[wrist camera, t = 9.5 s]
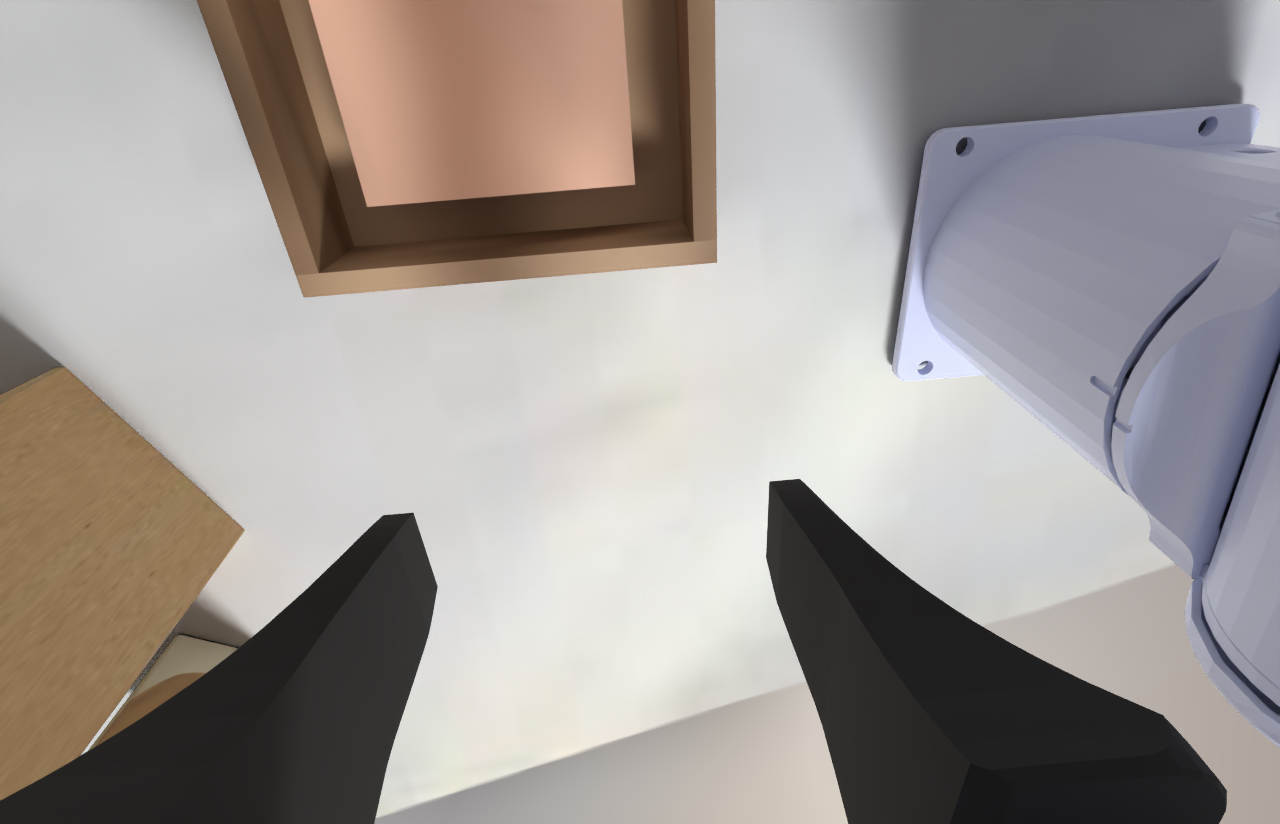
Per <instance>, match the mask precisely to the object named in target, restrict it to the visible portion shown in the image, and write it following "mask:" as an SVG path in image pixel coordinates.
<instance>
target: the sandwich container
mask: <svg viewBox="0 0 1280 824" xmlns="http://www.w3.org/2000/svg"><path fill="white" fill-rule="evenodd" d="M243 532H244V529H243V528H242V527H241V526H240V525H239V524H238V523H237V522H235V521H234V520H233V519H232V518H231V517H230V516H229V515H228V514H227V513H226V512H224V511H223V510H222V509H221V508H220V507H219V506H218V505H217V504H216V503H215V502H214V501H212V500H211V499H210V498H209V497H208V496H207V495H206V494H205V493H204V492H203V491H201V490H200V489H199V488H198V487H197V486H196V485H195V484H194V483H193V482H192V481H190V480H189V479H188V478H187V477H186V476H185V475H184V474H183V473H182V472H181V471H179V470H178V469H177V468H176V467H175V466H174V465H173V464H172V463H171V462H170V461H168V460H167V459H166V458H165V457H164V456H163V455H162V454H161V453H160V452H159V451H157V450H156V449H155V448H154V447H153V446H152V445H151V444H150V443H149V442H148V441H146V440H145V439H144V438H143V437H142V436H141V435H140V434H139V433H138V432H137V431H135V430H134V429H133V428H132V427H131V426H130V425H129V424H128V423H127V422H125V421H124V420H123V419H122V418H121V417H120V416H119V415H118V414H117V413H115V412H114V411H113V410H112V409H111V408H110V407H109V406H108V405H107V404H106V403H104V402H103V401H102V400H101V399H100V398H99V397H98V396H97V395H96V394H94V393H93V392H92V391H91V390H90V389H89V388H88V387H87V386H86V385H84V384H83V383H82V382H81V381H80V380H79V379H78V378H77V377H76V376H74V375H73V374H72V373H71V372H70V371H69V370H68V369H67V368H66V367H55V368H53V369H51V370H49V371H47V372H45V373H43V374H41V375H39V376H37V377H35V378H33V379H31V380H29V381H27V382H25V383H23V384H21V385H19V386H17V387H15V388H13V389H11V390H9V391H7V392H5V393H3V394H1V395H0V800H2V799H4V798H6V797H8V796H10V795H11V794H13V793H15V792H17V791H19V790H21V789H23V788H24V787H26V786H28V785H30V784H32V783H34V782H36V781H37V780H39V779H41V778H43V777H45V776H46V775H48V774H50V773H52V772H53V771H55V770H57V769H59V768H60V767H62V766H64V765H66V764H67V763H69V762H71V761H72V760H74V759H76V758H78V757H79V756H80V755H81V754H82V752H83V751H84V750H85V748H86V747H87V746H88V744H89V743H90V742H91V740H92V739H93V737H94V736H95V735H96V733H97V732H98V731H99V729H100V728H101V727H102V725H103V724H104V723H105V721H106V720H107V718H108V717H109V716H110V714H111V713H112V712H113V710H114V709H115V708H116V706H117V705H118V704H119V702H120V701H121V699H122V698H123V697H124V695H125V694H126V693H127V691H128V690H129V689H130V687H131V686H132V685H133V683H134V682H135V680H136V679H137V678H138V676H139V675H140V674H141V672H142V671H143V670H144V668H145V667H146V666H147V664H148V663H149V661H150V660H151V659H152V657H153V656H154V655H155V653H156V652H157V651H158V649H159V648H160V647H161V645H162V644H163V642H164V641H165V640H166V638H167V637H168V636H169V634H170V633H171V632H172V630H173V629H174V628H175V626H176V625H177V623H178V622H179V621H180V619H181V618H182V617H183V615H184V614H185V613H186V611H187V610H188V608H189V607H190V606H191V604H192V603H193V602H194V600H195V599H196V597H197V596H198V595H199V593H200V592H201V590H202V589H203V588H204V586H205V585H206V584H207V582H208V581H209V579H210V578H211V577H212V575H213V574H214V572H215V571H216V570H217V568H218V567H219V566H220V564H221V563H222V561H223V560H224V559H225V557H226V556H227V555H228V553H229V552H230V550H231V549H232V548H233V546H234V545H235V543H236V542H237V541H238V539H239V538H240V537H241V535H242V534H243Z"/></svg>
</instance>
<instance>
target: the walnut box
mask: <svg viewBox="0 0 1280 824" xmlns="http://www.w3.org/2000/svg"><path fill="white" fill-rule="evenodd" d="M197 2H198V5H199V8H200V11H201V13H202V16H203V19H204V22H205V24H206V27H207V30H208V33H209V36H210V38H211V41H212V44H213V47H214V49H215V52H216V55H217V58H218V61H219V63H220V66H221V69H222V72H223V74H224V77H225V80H226V83H227V86H228V88H229V91H230V94H231V97H232V99H233V102H234V105H235V108H236V111H237V113H238V116H239V119H240V122H241V124H242V127H243V130H244V133H245V136H246V138H247V141H248V144H249V147H250V149H251V152H252V155H253V158H254V160H255V163H256V166H257V169H258V172H259V174H260V177H261V180H262V183H263V185H264V188H265V191H266V194H267V197H268V199H269V202H270V205H271V208H272V210H273V213H274V216H275V219H276V222H277V224H278V227H279V230H280V233H281V235H282V238H283V241H284V244H285V247H286V249H287V252H288V255H289V258H290V260H291V263H292V266H293V269H294V272H295V274H296V277H297V280H298V283H299V285H300V288H301V291H302V294H303V297H315V296H326V295H338V294H350V293H362V292H374V291H386V290H397V289H409V288H421V287H433V286H445V285H457V284H468V283H480V282H492V281H504V280H516V279H528V278H539V277H551V276H563V275H575V274H587V273H598V272H610V271H622V270H634V269H646V268H658V267H669V266H681V265H693V264H705V263H717V214H716V91H715V0H197Z"/></svg>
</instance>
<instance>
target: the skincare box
mask: <svg viewBox="0 0 1280 824" xmlns="http://www.w3.org/2000/svg"><path fill="white" fill-rule="evenodd" d="M237 649H238V648H234V647H230V646H226V645H222V644H218V643H213V642H209V641H205V640H200V639H196V638H192V637H188V636H184V635H177V636H175V637H174V639H173V640H172V641H171V642H170V644H169V645H168V646H167V648H166V649H165V650H164V652H163V653H162V654H161V656H160V657H159V658H158V659H157V661H156V662H155V663H154V665H153V666H152V667H151V669H150V670H149V671H148V673H147V674H146V675H145V677H144V678H143V680H142V681H141V682H140V684H139V685H138V686H137V687H136V689H135V690H134V691H133V693H132V694H131V695H130V697H129V698H128V699H127V700H126V702H125V703H124V704H123V706H122V707H121V708H120V710H119V711H118V712H117V714H116V715H115V716H114V718H113V719H112V720H111V722H110V723H109V724H108V725H107V727H106V728H105V729H104V731H103V732H102V733H101V735H100V736H99V737H98V739H97V740H96V741H95V743H94V744H93V745H92V746H91V748H90V749H89V750H91V749H93V748H94V747H96V746H98V745H99V744H101V743H103V742H104V741H106V740H107V739H109V738H111V737H112V736H114V735H115V734H117V733H119V732H120V731H122V730H123V729H125V728H127V727H128V726H130V725H131V724H133V723H135V722H136V721H138V720H139V719H141V718H142V717H144V716H145V715H147V714H148V713H150V712H151V711H152V710H154V709H155V708H157V707H158V706H160V705H161V704H163V703H164V702H166V701H167V700H168V699H170V698H171V697H173V696H174V695H176V694H177V693H179V692H180V691H182V690H183V689H184V688H186V687H187V686H189V685H190V684H192V683H193V682H195V681H196V680H198V679H199V678H200V677H202V676H203V675H204V674H206V673H207V672H208V671H210V670H211V669H212V668H214V667H215V666H216V665H218V664H219V663H220V662H221V661H223V660H224V659H225V658H227V657H228V656H229V655H231V654H232V653H233V652H235V651H236V650H237ZM89 750H88V751H89Z"/></svg>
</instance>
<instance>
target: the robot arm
mask: <svg viewBox="0 0 1280 824" xmlns="http://www.w3.org/2000/svg"><path fill="white" fill-rule="evenodd" d="M1259 117H1260V113H1259V109H1258V108H1257V107H1256V106H1255V105H1250V104H1228V105H1216V106H1204V107H1192V108H1180V109H1168V110H1156V111H1144V112H1132V113H1120V114H1108V115H1096V116H1084V117H1072V118H1060V119H1047V120H1035V121H1023V122H1011V123H999V124H987V125H975V126H963V127H951V128H943V129H940V130H937V131H936V132H935V133H933V134H932V135H931V136H930V138H929V139H928V140H927V143H926V146H925V149H924V156H923V163H922V169H921V176H920V183H919V190H918V196H917V203H916V210H915V216H914V223H913V230H912V236H911V243H910V250H909V256H908V263H907V270H906V276H905V283H904V290H903V297H902V303H901V310H900V317H899V323H898V330H897V337H896V343H895V350H894V357H893V363H892V371H893V372H894V374H895V375H896V376H897V377H898V379H900V380H902V381H919V380H930V379H942V378H953V377H965V376H977V375H985V376H986V377H987V378H989V379H990V380H991V381H992V382H993V383H995V384H996V385H997V386H998V387H999V388H1001V389H1002V390H1003V391H1004V392H1005V393H1007V394H1008V395H1009V396H1010V397H1011V398H1013V399H1014V400H1015V401H1016V402H1017V403H1019V404H1020V405H1021V406H1022V407H1023V408H1025V409H1026V410H1027V411H1028V412H1029V413H1031V414H1032V415H1033V416H1034V417H1035V418H1037V419H1038V420H1039V421H1040V422H1041V423H1043V424H1044V425H1045V426H1046V427H1047V428H1049V429H1050V430H1051V431H1052V432H1053V433H1055V434H1056V435H1057V436H1058V437H1059V438H1061V439H1062V440H1063V441H1064V442H1065V443H1067V444H1068V445H1069V446H1070V447H1071V448H1073V449H1074V450H1075V451H1076V452H1077V453H1079V454H1080V455H1081V456H1082V457H1083V458H1084V459H1086V460H1087V461H1088V462H1089V463H1090V464H1092V465H1093V466H1094V467H1095V468H1096V469H1098V470H1099V471H1100V472H1101V473H1102V474H1104V475H1105V476H1106V477H1107V478H1108V479H1110V480H1111V481H1112V482H1113V483H1114V484H1116V485H1117V486H1118V487H1119V488H1120V489H1122V490H1123V491H1124V492H1125V493H1127V494H1128V495H1129V496H1130V497H1131V498H1133V499H1134V500H1135V501H1136V502H1137V503H1138V504H1139V505H1140V506H1141V507H1142V508H1143V509H1144V511H1145V512H1146V513H1147V515H1148V517H1149V520H1150V525H1151V530H1150V537H1149V540H1150V542H1152V543H1153V544H1154V545H1155V546H1156V547H1157V548H1158V549H1159V550H1161V551H1162V552H1163V553H1164V554H1165V555H1166V556H1167V557H1168V558H1170V559H1171V560H1172V561H1173V562H1174V563H1175V564H1176V565H1177V566H1179V567H1180V568H1181V569H1182V570H1183V571H1184V572H1185V573H1187V574H1188V575H1189V576H1190V577H1191V578H1192V579H1195V580H1194V581H1193V582H1192V585H1191V588H1190V591H1189V594H1188V598H1187V603H1186V608H1185V620H1186V629H1187V635H1188V638H1189V641H1190V643H1191V646H1192V649H1193V652H1194V654H1195V656H1196V658H1197V660H1198V661H1199V663H1200V665H1201V666H1202V668H1203V670H1204V672H1205V673H1206V675H1207V677H1208V678H1209V679H1210V681H1211V682H1212V683H1213V684H1214V685H1215V687H1216V688H1217V689H1218V690H1219V691H1220V693H1221V694H1222V695H1223V697H1224V698H1225V699H1226V700H1227V701H1228V703H1229V704H1230V705H1231V706H1232V707H1234V708H1235V709H1236V710H1237V711H1238V712H1239V713H1240V714H1241V715H1242V716H1243V717H1244V718H1245V719H1246V720H1247V721H1248V722H1249V723H1250V724H1251V725H1252V726H1253V727H1254V728H1255V729H1257V730H1258V731H1259V732H1260V733H1262V734H1263V735H1264V736H1265V737H1267V738H1268V739H1269V740H1270V741H1272V742H1273V743H1274V744H1275V745H1277V746H1278V747H1279V748H1280V148H1276V147H1269V146H1261V145H1254V144H1250V142H1251V140H1252V137H1253V135H1254V132H1255V129H1256V127H1257V124H1258V122H1259ZM1205 119H1206V125H1205V126H1204V128H1203V130H1202V131H1201V132H1199V133H1198V130H1199V126H1200V124H1201V123H1202V122H1203V121H1204V120H1205ZM962 138H966V139H967V146H966V149H965V150H964V151H963V152H962V153H961V154H958V155H957V153H956V146H957V143H958V142H959V141H960V140H961V139H962ZM924 361H928V363H927V365H926V366H925V367H924V368H923V369H920V370H918V369H917V368H918V366H919V365H920V364H921V363H922V362H924ZM766 558H767V563H768V567H769V571H770V576H771V580H772V584H773V588H774V592H775V596H776V600H777V603H778V606H779V609H780V612H781V614H782V617H783V620H784V623H785V625H786V628H787V631H788V633H789V636H790V639H791V641H792V644H793V647H794V649H795V652H796V655H797V657H798V660H799V662H800V665H801V668H802V670H803V673H804V676H805V678H806V681H807V684H808V686H809V689H810V692H811V694H812V697H813V699H814V702H815V705H816V708H817V711H818V714H819V717H820V720H821V723H822V726H823V730H824V733H825V737H826V740H827V744H828V748H829V752H830V755H831V759H832V763H833V766H834V770H835V774H836V777H837V781H838V785H839V789H840V793H841V797H842V801H843V804H844V808H845V812H846V816H847V820H848V824H1219V822H1220V821H1221V819H1222V817H1223V815H1224V813H1225V811H1226V805H1227V790H1226V789H1225V788H1224V786H1223V785H1222V784H1221V782H1220V781H1219V779H1218V778H1217V777H1216V776H1215V774H1214V773H1213V772H1212V771H1211V770H1210V769H1209V767H1208V766H1207V765H1206V764H1205V762H1204V761H1203V760H1202V759H1201V758H1200V756H1199V755H1198V754H1197V753H1196V752H1195V750H1194V749H1193V748H1192V747H1191V746H1190V744H1189V743H1188V742H1187V741H1186V740H1185V739H1184V738H1183V737H1182V736H1181V734H1180V733H1179V732H1178V731H1177V730H1176V729H1175V728H1174V727H1173V726H1172V725H1171V724H1170V723H1169V721H1168V720H1166V719H1165V717H1164V716H1163V715H1161V714H1159V713H1156V712H1154V711H1152V710H1150V709H1147V708H1145V707H1143V706H1140V705H1138V704H1136V703H1134V702H1131V701H1129V700H1127V699H1124V698H1122V697H1120V696H1117V695H1115V694H1113V693H1111V692H1108V691H1106V690H1104V689H1101V688H1099V687H1097V686H1095V685H1092V684H1090V683H1088V682H1086V681H1084V680H1081V679H1079V678H1077V677H1075V676H1073V675H1071V674H1069V673H1067V672H1065V671H1063V670H1061V669H1059V668H1057V667H1055V666H1053V665H1051V664H1049V663H1047V662H1045V661H1043V660H1041V659H1039V658H1037V657H1035V656H1034V655H1032V654H1030V653H1028V652H1026V651H1024V650H1022V649H1021V648H1018V647H1017V646H1015V645H1013V644H1011V643H1010V642H1008V641H1006V640H1004V639H1003V638H1001V637H999V636H997V635H996V634H994V633H992V632H991V631H989V630H987V629H985V628H984V627H982V626H981V625H979V624H977V623H975V622H974V621H972V620H971V619H969V618H967V617H966V616H964V615H963V614H961V613H959V612H958V611H956V610H955V609H953V608H952V607H950V606H949V605H947V604H946V603H944V602H943V601H942V600H940V599H939V598H937V597H936V596H934V595H933V594H931V593H930V592H928V591H927V590H925V589H924V588H923V587H921V586H920V585H919V584H917V583H916V582H914V581H913V580H912V579H910V578H909V577H908V576H906V575H905V574H904V573H903V572H901V571H900V570H899V569H898V568H896V567H895V566H894V565H893V564H891V563H890V562H889V561H888V560H886V559H885V558H884V557H883V556H882V555H881V554H879V553H878V552H877V551H876V550H875V549H873V548H872V547H871V546H870V545H869V544H868V543H867V542H866V541H865V540H863V539H862V538H861V537H860V536H859V535H858V534H857V533H856V532H854V531H853V530H852V529H851V528H850V527H849V526H848V525H847V524H846V523H845V522H844V521H843V520H841V519H840V518H839V517H838V516H837V515H836V514H835V513H834V512H833V511H832V510H831V509H830V508H829V507H828V506H827V505H826V504H825V503H824V502H823V501H822V500H821V499H820V498H819V497H818V496H817V495H816V494H815V493H814V492H813V491H812V490H811V489H810V488H809V487H808V486H807V485H806V484H805V483H804V482H802V481H801V480H800V479H794V480H783V481H772V482H770V483H769V506H768V529H767V553H766ZM436 592H437V584H436V581H435V578H434V575H433V571H432V568H431V565H430V562H429V559H428V556H427V553H426V550H425V547H424V544H423V541H422V538H421V535H420V532H419V529H418V526H417V522H416V519H415V516H414V513H405V514H394V515H383V516H382V517H381V518H380V519H379V520H378V521H377V522H375V523H374V524H373V525H372V526H371V527H370V528H369V529H368V530H367V531H366V532H365V533H364V534H363V535H362V536H361V537H360V538H359V539H358V540H357V541H356V542H355V543H354V544H353V545H352V546H351V547H350V548H349V549H348V550H347V551H346V552H345V553H344V554H343V555H342V556H341V557H340V558H339V559H338V560H337V561H336V562H335V563H333V564H332V565H331V566H330V567H329V568H328V569H327V570H326V571H325V572H324V573H323V574H322V575H321V576H320V577H319V578H318V579H317V580H316V581H315V582H314V583H313V584H312V585H311V586H310V587H309V588H308V589H306V590H305V591H304V592H303V593H302V594H301V595H300V596H299V597H298V598H296V599H295V600H294V601H293V602H292V603H291V604H290V605H289V606H287V607H286V608H285V609H284V610H283V611H282V612H281V613H280V614H278V615H277V616H276V617H275V618H274V619H273V620H272V621H271V622H269V623H268V624H267V625H266V626H265V627H264V628H263V629H262V630H260V631H259V632H258V633H257V634H256V635H254V636H253V637H252V638H251V639H249V640H248V641H247V642H246V643H245V644H243V645H242V646H241V647H240V648H238V649H237V650H236V651H235V652H233V653H232V654H231V655H229V656H228V657H227V658H225V659H224V660H223V661H221V662H220V663H219V664H218V665H216V666H215V667H214V668H212V669H211V670H210V671H208V672H207V673H206V674H204V675H203V676H202V677H200V678H199V679H198V680H196V681H195V682H193V683H192V684H190V685H189V686H187V687H186V688H184V689H183V690H182V691H180V692H179V693H177V694H176V695H174V696H173V697H171V698H170V699H168V700H167V701H166V702H164V703H163V704H161V705H160V706H158V707H157V708H155V709H154V710H152V711H151V712H150V713H148V714H147V715H145V716H144V717H142V718H141V719H139V720H138V721H136V722H135V723H133V724H131V725H130V726H128V727H127V728H125V729H123V730H122V731H120V732H119V733H117V734H115V735H114V736H112V737H111V738H109V739H107V740H106V741H104V742H103V743H101V744H99V745H98V746H96V747H94V748H93V749H91V750H89V751H88V752H86V753H84V754H83V755H81V756H79V757H78V758H76V759H74V760H72V761H71V762H69V763H67V764H66V765H64V766H62V767H60V768H59V769H57V770H55V771H53V772H52V773H50V774H48V775H46V776H45V777H43V778H41V779H39V780H37V781H36V782H34V783H32V784H30V785H28V786H26V787H24V788H23V789H21V790H19V791H17V792H15V793H13V794H11V795H10V796H8V797H6V798H4V799H2V800H0V824H374V821H375V817H376V813H377V808H378V804H379V799H380V795H381V790H382V786H383V781H384V777H385V772H386V768H387V764H388V760H389V757H390V753H391V750H392V746H393V743H394V740H395V736H396V733H397V730H398V727H399V724H400V721H401V718H402V715H403V712H404V709H405V706H406V703H407V700H408V697H409V694H410V691H411V688H412V685H413V682H414V679H415V676H416V673H417V670H418V666H419V663H420V660H421V657H422V654H423V651H424V648H425V645H426V641H427V638H428V635H429V630H430V625H431V620H432V615H433V610H434V604H435V598H436Z"/></svg>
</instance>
